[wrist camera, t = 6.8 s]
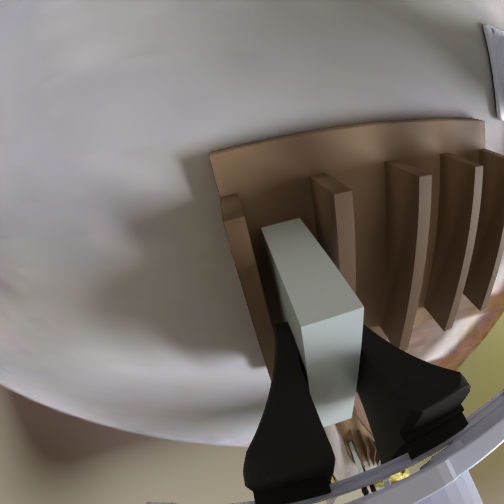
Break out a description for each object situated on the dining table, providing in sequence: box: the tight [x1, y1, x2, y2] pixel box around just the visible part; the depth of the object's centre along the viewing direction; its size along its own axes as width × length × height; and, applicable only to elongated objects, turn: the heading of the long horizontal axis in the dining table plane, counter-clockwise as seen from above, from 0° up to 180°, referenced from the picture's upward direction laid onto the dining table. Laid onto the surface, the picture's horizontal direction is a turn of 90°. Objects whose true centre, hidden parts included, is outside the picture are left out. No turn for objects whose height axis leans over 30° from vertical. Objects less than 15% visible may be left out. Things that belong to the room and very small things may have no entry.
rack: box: [209, 118, 504, 382], centre depth 15 cm, size 18×16×4 cm
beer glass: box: [323, 391, 410, 504], centre depth 18 cm, size 7×7×15 cm
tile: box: [261, 218, 364, 427], centre depth 13 cm, size 2×8×7 cm, turn 13°
